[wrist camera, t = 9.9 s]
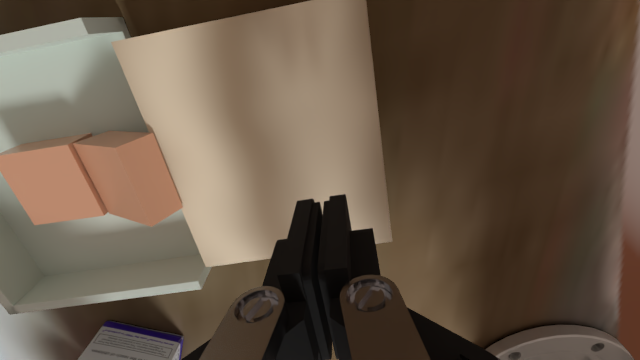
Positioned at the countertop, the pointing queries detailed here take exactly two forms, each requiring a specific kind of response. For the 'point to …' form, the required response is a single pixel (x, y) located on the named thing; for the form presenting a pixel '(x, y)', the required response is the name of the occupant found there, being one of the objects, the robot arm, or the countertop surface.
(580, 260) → the countertop surface
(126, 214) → the tile
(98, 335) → the supplement box
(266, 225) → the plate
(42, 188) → the tile
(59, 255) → the tray
